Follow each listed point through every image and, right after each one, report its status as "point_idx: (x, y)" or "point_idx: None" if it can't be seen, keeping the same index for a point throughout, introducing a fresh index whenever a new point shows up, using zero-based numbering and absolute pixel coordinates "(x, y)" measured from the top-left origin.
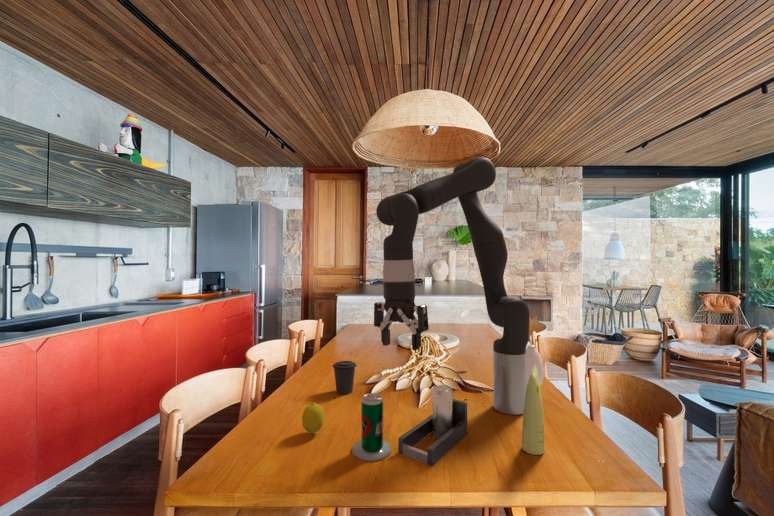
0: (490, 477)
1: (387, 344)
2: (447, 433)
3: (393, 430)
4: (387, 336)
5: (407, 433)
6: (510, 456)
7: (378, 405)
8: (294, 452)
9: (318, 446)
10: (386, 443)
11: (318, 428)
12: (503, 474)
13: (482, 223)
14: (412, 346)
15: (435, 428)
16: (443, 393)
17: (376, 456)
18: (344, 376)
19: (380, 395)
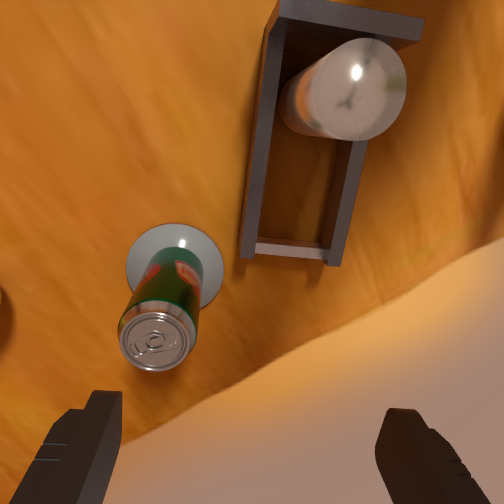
0: (448, 226)
1: (119, 420)
2: (352, 165)
3: (163, 146)
4: (98, 485)
5: (251, 225)
6: (491, 115)
7: (194, 343)
8: (30, 361)
9: (53, 317)
10: (195, 235)
11: (1, 299)
12: (474, 202)
13: None
14: (388, 482)
15: (302, 133)
16: (374, 135)
17: (207, 294)
18: None
19: (174, 320)
